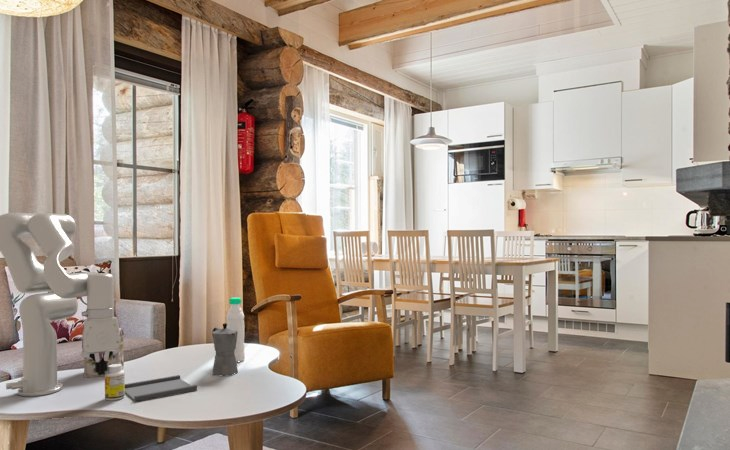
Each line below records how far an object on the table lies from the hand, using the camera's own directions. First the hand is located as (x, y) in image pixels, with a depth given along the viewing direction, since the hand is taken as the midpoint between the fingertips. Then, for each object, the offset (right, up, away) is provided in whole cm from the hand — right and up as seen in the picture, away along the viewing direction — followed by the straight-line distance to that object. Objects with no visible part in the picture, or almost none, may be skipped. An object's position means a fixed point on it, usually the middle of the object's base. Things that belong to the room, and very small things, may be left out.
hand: (101, 373), depth 167 cm
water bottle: (+29, -9, +50) cm, 59 cm away
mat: (+13, -8, +11) cm, 19 cm away
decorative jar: (-15, -9, +34) cm, 38 cm away
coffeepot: (+29, -9, +33) cm, 44 cm away
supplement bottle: (+3, -8, +2) cm, 9 cm away
